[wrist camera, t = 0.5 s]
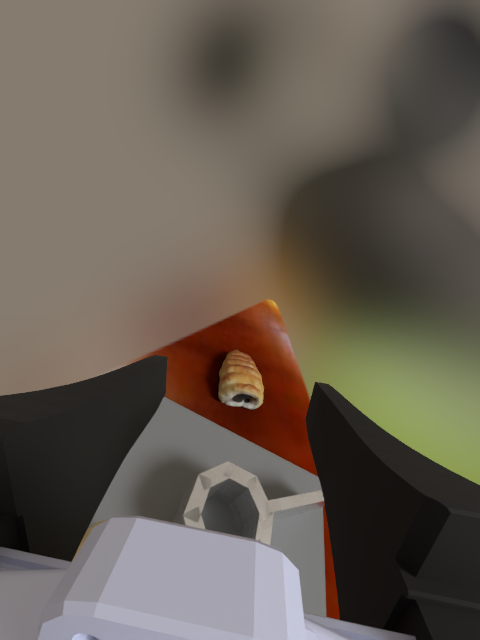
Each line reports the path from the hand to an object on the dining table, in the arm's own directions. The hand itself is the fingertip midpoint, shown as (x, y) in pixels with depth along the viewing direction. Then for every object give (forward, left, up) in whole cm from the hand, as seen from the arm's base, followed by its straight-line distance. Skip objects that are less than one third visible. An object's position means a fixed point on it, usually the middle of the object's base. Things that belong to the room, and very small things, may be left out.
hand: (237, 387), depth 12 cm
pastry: (+17, -3, -18) cm, 25 cm away
